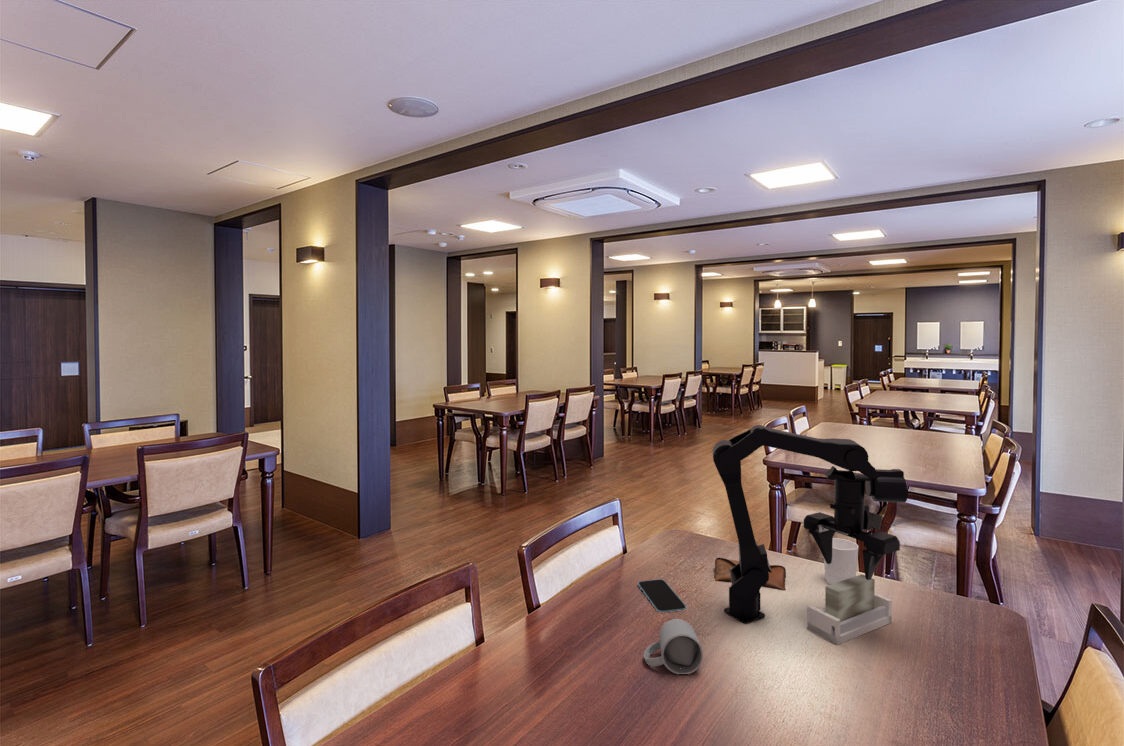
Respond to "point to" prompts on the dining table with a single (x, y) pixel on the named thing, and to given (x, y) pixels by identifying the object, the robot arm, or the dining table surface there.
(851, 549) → the white cup
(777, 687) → the dining table surface
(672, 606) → the smartphone
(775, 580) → the sunglasses case
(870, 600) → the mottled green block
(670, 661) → the ceramic mug
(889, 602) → the cabinet track
